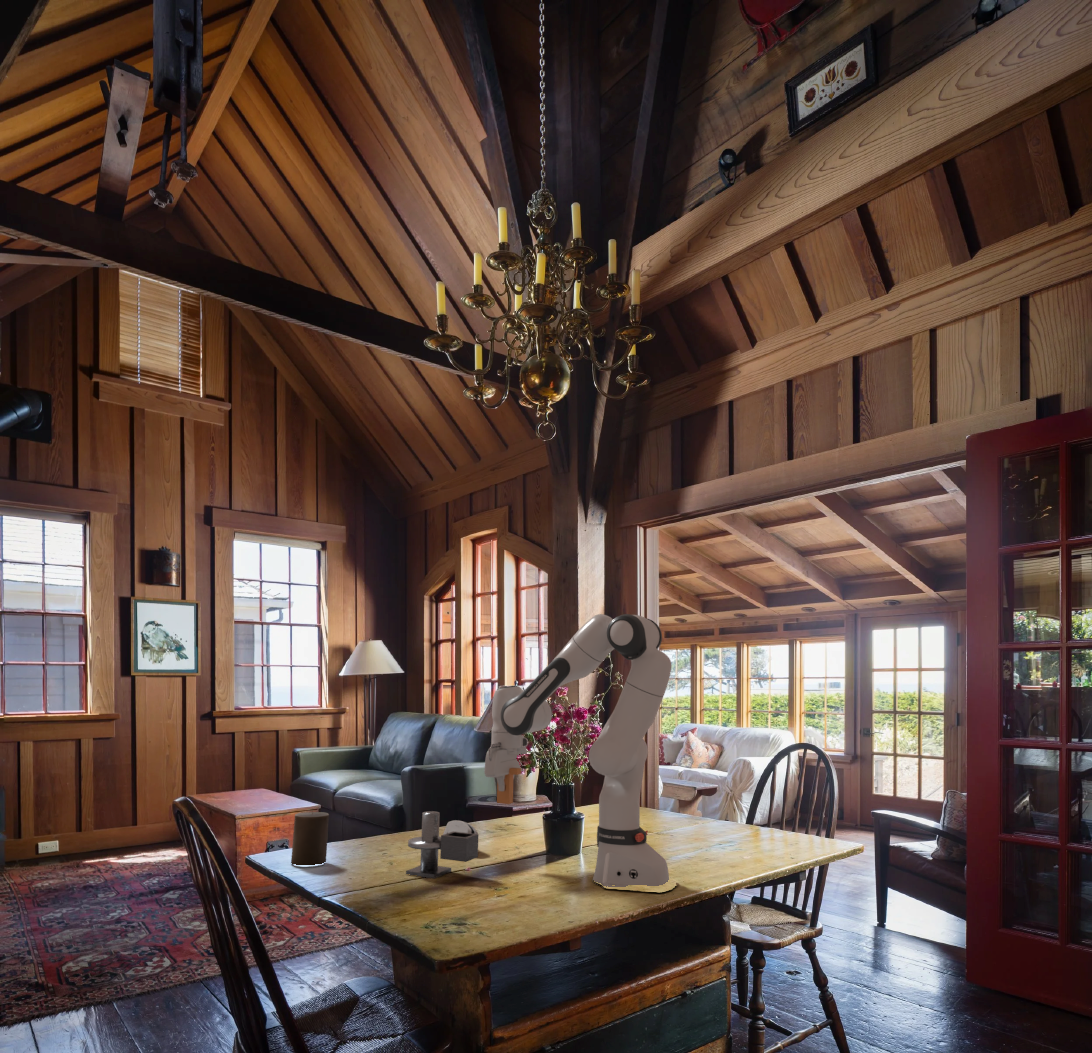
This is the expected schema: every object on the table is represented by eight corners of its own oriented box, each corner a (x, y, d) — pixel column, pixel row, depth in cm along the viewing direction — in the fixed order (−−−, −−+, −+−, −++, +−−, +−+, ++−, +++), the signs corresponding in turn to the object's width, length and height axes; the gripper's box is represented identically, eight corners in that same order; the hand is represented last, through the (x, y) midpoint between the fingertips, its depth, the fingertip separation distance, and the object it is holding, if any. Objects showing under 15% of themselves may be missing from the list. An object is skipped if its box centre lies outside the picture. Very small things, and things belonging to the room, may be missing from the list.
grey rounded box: (434, 847, 264) (445, 815, 267) (447, 850, 266) (457, 819, 269) (457, 857, 250) (468, 824, 253) (470, 861, 252) (481, 828, 255)
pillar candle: (313, 869, 233) (317, 813, 236) (283, 865, 236) (287, 810, 239) (332, 862, 242) (336, 808, 245) (304, 859, 245) (307, 806, 248)
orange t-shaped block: (520, 803, 243) (521, 768, 245) (516, 804, 241) (517, 769, 243) (493, 801, 247) (494, 766, 249) (489, 802, 245) (490, 767, 246)
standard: (482, 874, 231) (483, 813, 233) (460, 884, 220) (462, 820, 223) (422, 866, 239) (424, 807, 241) (398, 875, 228) (400, 814, 231)
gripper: (499, 744, 236) (498, 795, 234) (530, 739, 255) (529, 786, 252) (479, 743, 239) (478, 794, 237) (512, 738, 257) (511, 785, 255)
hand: (505, 790), depth 245 cm, fingers closed on orange t-shaped block, 2 cm apart
